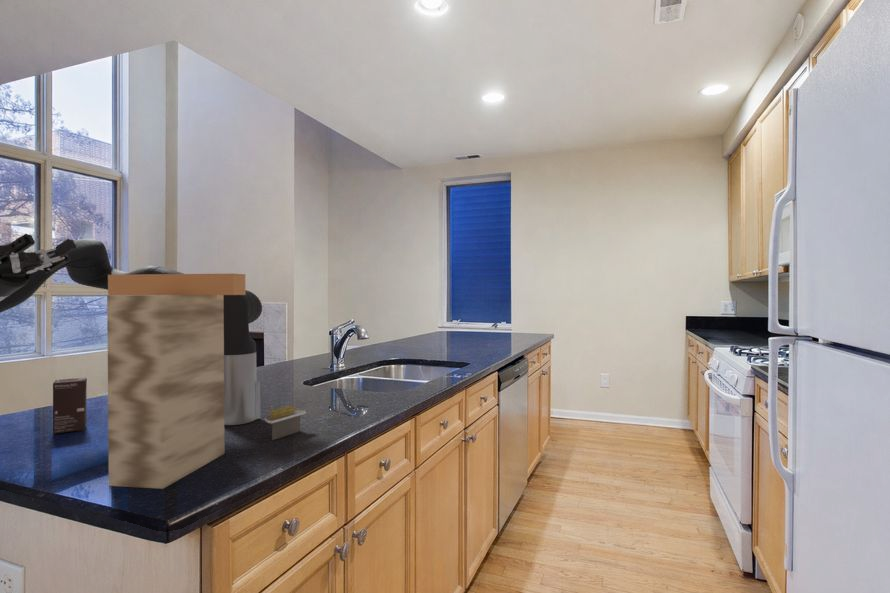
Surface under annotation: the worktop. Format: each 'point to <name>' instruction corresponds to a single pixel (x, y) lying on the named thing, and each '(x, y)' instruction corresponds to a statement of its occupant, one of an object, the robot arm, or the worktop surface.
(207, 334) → the tall wooden block
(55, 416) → the box
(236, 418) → the robot arm
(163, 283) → the rail
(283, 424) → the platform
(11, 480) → the worktop surface
